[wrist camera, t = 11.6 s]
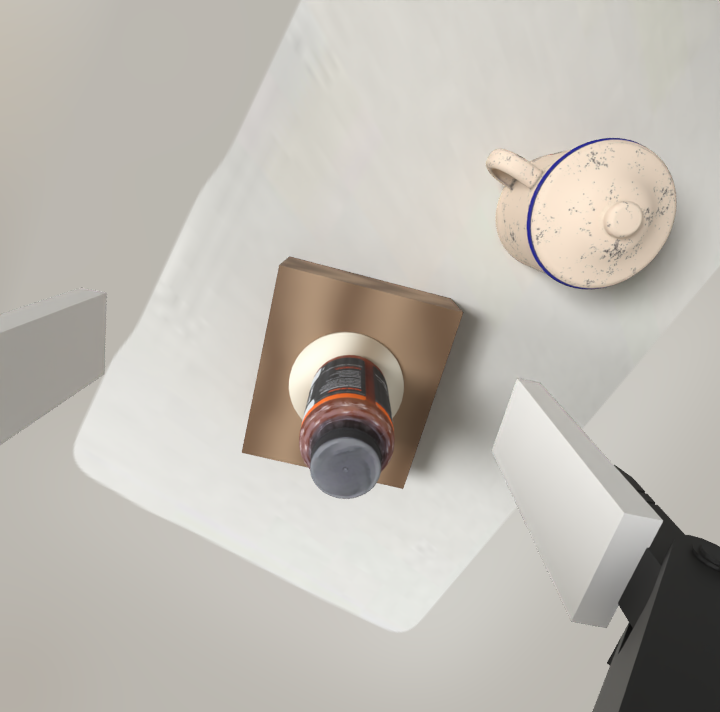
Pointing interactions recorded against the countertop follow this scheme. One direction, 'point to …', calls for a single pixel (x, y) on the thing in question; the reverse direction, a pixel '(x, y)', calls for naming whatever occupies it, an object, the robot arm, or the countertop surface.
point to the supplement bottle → (347, 427)
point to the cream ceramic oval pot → (585, 210)
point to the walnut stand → (348, 337)
